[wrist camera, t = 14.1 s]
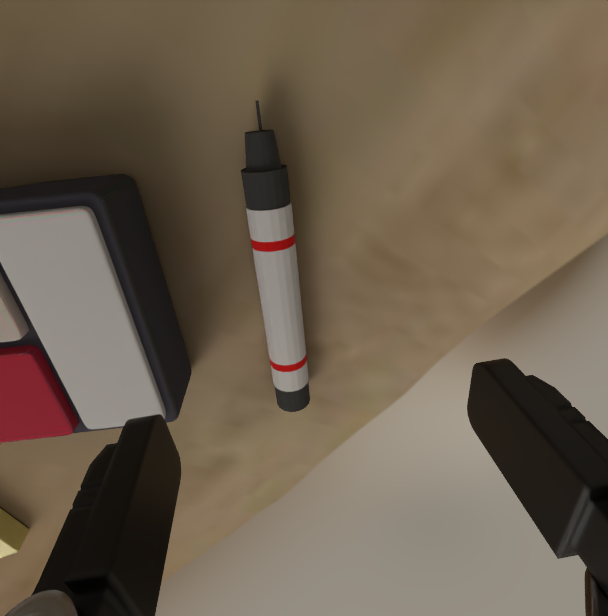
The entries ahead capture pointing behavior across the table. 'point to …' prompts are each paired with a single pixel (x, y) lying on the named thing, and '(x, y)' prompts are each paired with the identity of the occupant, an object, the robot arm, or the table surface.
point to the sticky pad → (10, 534)
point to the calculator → (83, 312)
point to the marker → (276, 266)
